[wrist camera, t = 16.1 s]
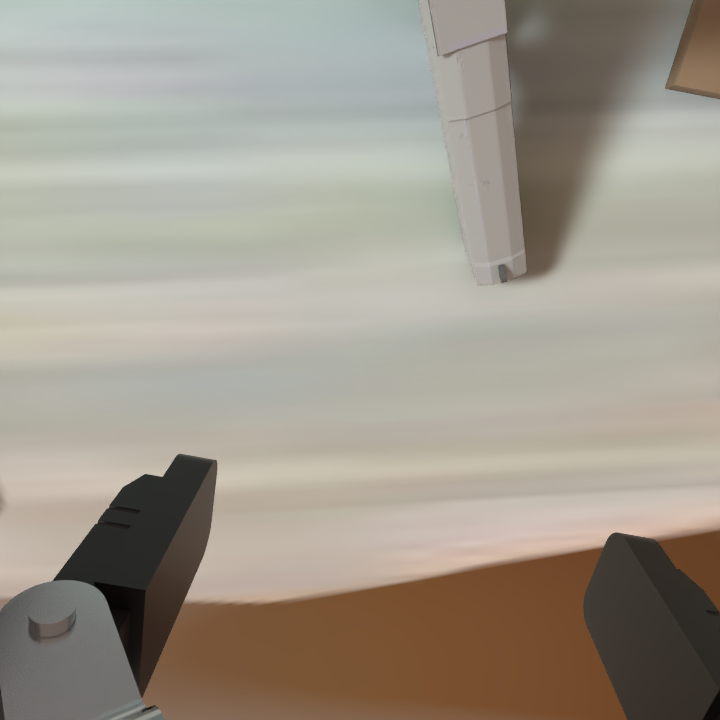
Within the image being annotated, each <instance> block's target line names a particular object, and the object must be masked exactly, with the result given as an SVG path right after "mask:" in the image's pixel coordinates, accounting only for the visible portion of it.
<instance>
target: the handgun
mask: <svg viewBox="0 0 720 720" xmlns="http://www.w3.org/2000/svg"><path fill="white" fill-rule="evenodd" d="M418 2H419V7H420V12H421V17H422V23H423V28H424V33H425V39H426V44H427V49H428V55H429V60H430V65H431V71H432V76H433V81H434V87H435V92H436V97H437V102H438V108H439V113H440V118H441V124H442V129H443V134H444V140H445V145H446V150H447V156H448V161H449V166H450V172H451V177H452V182H453V187H454V193H455V198H456V203H457V209H458V214H459V219H460V225H461V231H462V236H463V241H464V246H465V250H466V253H467V257H468V260H469V263H470V266H471V269H472V272H473V275H474V278H475V280H476V283H477V285H494V284H498V283H503V282H507V281H508V280H512V279H515V278H517V277H519V276H520V275H522V274H524V273H526V272H527V265H526V253H525V246H524V235H523V224H522V213H521V202H520V191H519V180H518V169H517V158H516V147H515V136H514V125H513V114H512V98H511V87H510V76H509V65H508V54H507V43H506V33H507V32H508V30H507V19H506V7H505V0H418Z"/></svg>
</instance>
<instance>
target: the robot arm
mask: <svg viewBox="0 0 720 720" xmlns="http://www.w3.org/2000/svg"><path fill="white" fill-rule="evenodd" d="M216 476H217V461H216V460H212V459H206V458H201V457H195V456H190V455H184V454H178V455H177V456H176V458H175V459H174V461H173V462H172V464H171V465H170V467H169V468H168V470H167V471H166V473H165V474H164V476H163V477H159V476H153V475H148V474H145V475H143V476H141V477H140V478H138V479H136V480H135V481H133V482H131V483H130V484H128V485H126V486H124V487H123V488H122V489H121V491H120V492H119V493H118V495H117V496H116V497H115V499H114V500H113V501H112V503H111V504H110V507H109V509H106V511H105V512H104V513H103V515H102V516H101V517H100V519H99V520H98V524H95V525H94V527H93V528H92V529H91V531H90V532H89V533H88V535H87V536H86V537H85V539H84V540H83V541H82V543H81V544H80V545H79V547H78V548H77V549H76V550H75V552H74V553H73V554H72V556H71V557H70V558H69V560H68V561H67V562H66V564H65V565H64V566H63V568H62V569H61V570H60V572H59V573H58V574H57V576H56V577H55V578H54V580H53V581H51V582H47V583H43V584H40V585H36V586H34V587H32V588H29V589H27V590H25V591H23V592H22V593H20V594H18V595H17V596H15V597H14V598H13V599H11V600H10V601H9V602H8V603H7V604H6V605H5V606H4V607H3V608H2V609H1V611H0V720H165V718H164V716H163V715H162V713H161V711H160V710H159V709H158V707H157V706H155V705H154V706H151V707H149V708H146V707H145V705H144V703H143V701H142V697H143V695H144V693H145V690H146V688H147V686H148V683H149V681H150V679H151V676H152V674H153V672H154V669H155V667H156V665H157V662H158V660H159V658H160V655H161V653H162V651H163V648H164V646H165V643H166V641H167V639H168V637H169V634H170V632H171V630H172V627H173V625H174V623H175V621H176V618H177V616H178V613H179V611H180V609H181V606H182V604H183V602H184V600H185V597H186V595H187V593H188V590H189V588H190V586H191V583H192V581H193V579H194V576H195V574H196V572H197V569H198V567H199V565H200V563H201V560H202V558H203V555H204V552H205V549H206V546H207V542H208V538H209V534H210V528H211V521H212V512H213V503H214V494H215V485H216ZM584 618H585V622H586V625H587V628H588V630H589V632H590V634H591V637H592V639H593V641H594V643H595V646H596V648H597V650H598V653H599V655H600V657H601V660H602V662H603V664H604V667H605V669H606V671H607V674H608V676H609V678H610V681H611V683H612V685H613V687H614V690H615V692H616V694H617V697H618V699H619V701H620V704H621V706H622V708H623V711H624V713H625V715H626V718H627V720H720V612H719V611H718V609H717V608H716V607H715V605H714V604H713V602H712V601H711V600H710V598H709V597H708V596H707V594H706V593H705V591H704V590H703V589H701V588H700V587H699V586H698V585H697V584H696V583H695V582H693V581H692V580H691V579H690V578H689V577H688V576H687V575H685V574H684V573H683V572H682V571H681V570H680V569H676V567H675V566H674V564H673V563H672V562H671V560H670V559H669V557H668V556H667V555H666V553H665V552H664V550H663V549H662V547H661V546H660V545H659V543H658V542H657V541H655V540H654V539H650V538H645V537H639V536H633V535H628V534H622V533H613V534H611V535H610V536H609V538H608V539H607V541H606V544H605V546H604V548H603V551H602V553H601V556H600V558H599V561H598V563H597V565H596V568H595V570H594V573H593V575H592V578H591V580H590V582H589V585H588V587H587V590H586V593H585V597H584Z"/></svg>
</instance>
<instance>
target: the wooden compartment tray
mask: <svg viewBox="0 0 720 720" xmlns="http://www.w3.org/2000/svg"><path fill="white" fill-rule="evenodd" d="M665 89H671V90H676V91H681V92H686V93H691V94H697V95H702V96H707V97H712V98H717V99H720V0H693V3H692V7H691V10H690V13H689V16H688V19H687V22H686V25H685V28H684V31H683V34H682V38H681V41H680V44H679V47H678V50H677V53H676V56H675V59H674V62H673V65H672V69H671V72H670V75H669V78H668V81H667V84H666V87H665Z"/></svg>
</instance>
